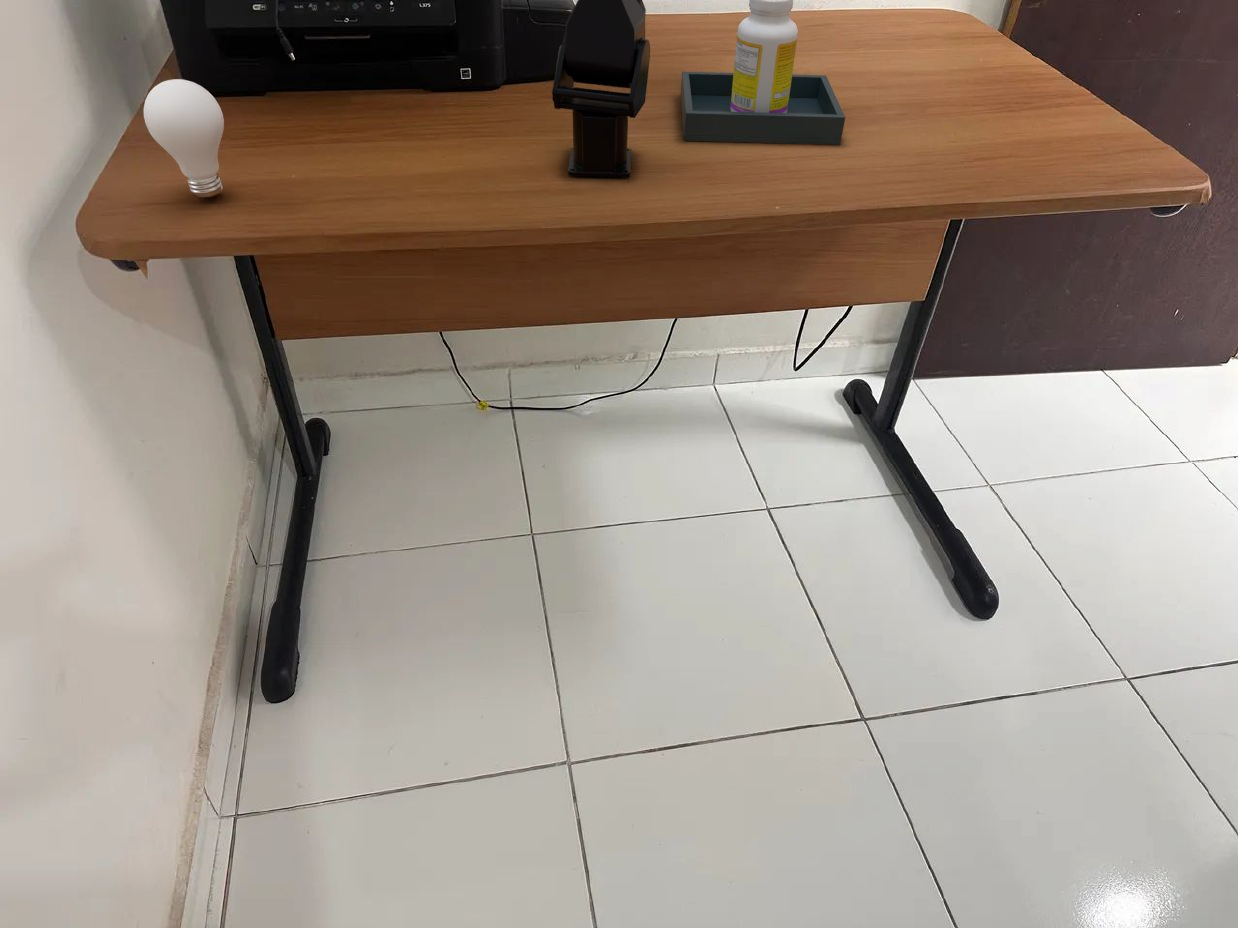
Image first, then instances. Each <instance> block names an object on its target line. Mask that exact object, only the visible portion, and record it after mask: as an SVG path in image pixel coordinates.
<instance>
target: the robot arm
mask: <svg viewBox="0 0 1238 928" xmlns="http://www.w3.org/2000/svg"><path fill="white" fill-rule="evenodd" d="M646 12H647V10H646V6H645V4H644V2H643V0H577V1H576V3H575V5H574V7H573V8H572V10H571V12H570V14H569V16H568V18H567V20H566V22H565V31H564V35H563V37H562V42H561V44H560V46H559V47H558V53H557V59H556V65H555V66H556V67H555V72H554V79H553V86H552V90H551V93H552V94H551V95H552V102H553V107H554V109H555V110H571V112H572V147H571V148H570V154H569V159H568V166H567V175H568V176H571V177H594V178H595V177H600V178H602V177H603V178H605V177H606V178H629V177H631V171H632V170H631V169H632V168H631V165H632V149H631V148H628V137H629V135H628V134H629V119H636V117H637V116H638V114H639V113H640V111H641V110H642V109H643V107H644V105H645V103H646V97H647V89H648V80H649V69H650V61H651V60H650V59H651V42H650V39H646V15H647V14H646ZM574 83H576V84H585V85H593V86H601V87H610V88H619V89H630V91H629V92H621V91H620V92H619V91H613V90H604V89H603V90H601V89H592V88H584V87H575V86H574Z"/></svg>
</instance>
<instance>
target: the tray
mask: <svg viewBox="0 0 1238 928" xmlns="http://www.w3.org/2000/svg"><path fill="white" fill-rule="evenodd" d="M733 75H734V72H722V71H721V72H719V71H717V72H716V71H714V72H713V71H684V70H683V71H681V79H680V96H679V98H680V109H681V121H682V131H683V132H682V133H683V141H684V142H688V141H689V142H715V143H716V142H717V143H718V142H720V143H721V142H722V143H723V142H724V143H725V142H726V143H753V144H754V143H755V144H790V145H791V144H792V145H793V144H794V145H795V144H796V145H827V146H828V145H830V146H831V145H832V146H841V142H842V138H843V132H844V129H845V122H846V115H845V114H844V111H843V109H842V107H841V105H840V102H839V99H838V98H837V96H836V94H835V92H834V89H833V87H832V85H831V83H830V80H829V78H828V75H826V74H793V73H792V80H791V87H790V95H789V102H788V108H787V113H760V112H731V96H732V85H733Z"/></svg>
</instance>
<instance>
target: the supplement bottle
mask: <svg viewBox="0 0 1238 928" xmlns="http://www.w3.org/2000/svg"><path fill="white" fill-rule="evenodd" d="M748 7H749V11H750V13H749V16H747V17H745V18H744V19H743V20H741V22H740V23H739V25H738V28H737V34H736V43H735V44H736V45H735V55H734V57H735V58H734V65H733V73H734V75H733V85H732V96H731V112H760V113H787V108H788V102H789V95H790V87H791V80H792V74H793V73H794V66H795V65H794V64H795V58H796V50H797V43H798V35H799V30H798V26H797V24H796V23H795V21H793V19H791V18H790V13H791V11H792V10H793V7H794V0H749V1H748Z"/></svg>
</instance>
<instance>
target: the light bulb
mask: <svg viewBox="0 0 1238 928" xmlns="http://www.w3.org/2000/svg"><path fill="white" fill-rule="evenodd" d="M143 119H144V123H145V126H146V128H147V131H148V132H149V134H150V136H151V137H152V139H153V140H154V141H155V142H156V143H157V144H158V145H160V147H161V148H162V149H164V150H165V151H166V153H168V154H169V156H171V157H172V158H173V160H174V161H175V162H176V163H177V165H178V167H179V169H180V171H181V173H182V175H184V176H185V177H186V178H187V179H186V182H187V183H188V187H189V192H191V193H192V194H193V196H196V197H199V198H203V199H212V198H214V197H216V196H217V195H219V194H220V193H221V192H222V191H223V188H224V186H223V182H222V180H221V179H222V178H221V177H220V175H219V174H218V172H219V170H220V164H219V158H218V155H219V149H220V144H221V141H222V138H223V134H224V130H225V120H224V113H223V112H222V109H221V106H220V105H219V103H218V101H217V100H216V98H215V97H214V96H213V95H212V94H211V93H210V92H209V90H207V89H206V88H204V87H203V86H202V85H200V84H198V83H196V82H194V81H190V80H186V79H183V78H177V79H175V78H173V79H167V80H164V81H162V82H160V83H158V84H156V85H155V86H154V87H153V88H152V89H151V90H150V91H149V92H148V94H147V96H146V98H145V100H144V105H143Z"/></svg>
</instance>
